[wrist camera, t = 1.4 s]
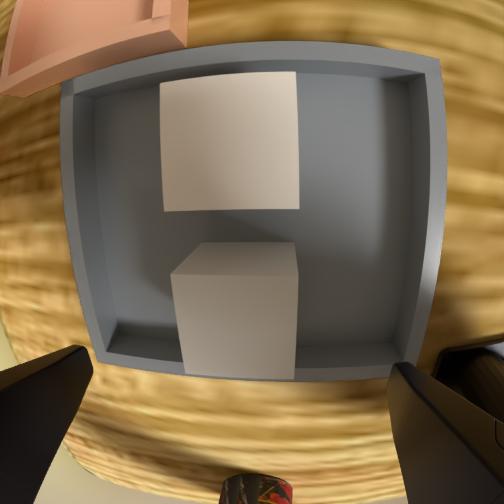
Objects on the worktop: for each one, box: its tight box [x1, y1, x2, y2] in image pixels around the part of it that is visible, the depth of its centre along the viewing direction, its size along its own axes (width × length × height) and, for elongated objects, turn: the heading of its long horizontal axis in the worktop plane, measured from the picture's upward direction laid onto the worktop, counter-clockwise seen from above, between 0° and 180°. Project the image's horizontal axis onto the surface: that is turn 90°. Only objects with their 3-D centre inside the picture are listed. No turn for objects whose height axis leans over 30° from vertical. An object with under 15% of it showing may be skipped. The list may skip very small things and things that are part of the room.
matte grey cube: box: [170, 242, 298, 379], centre depth 12 cm, size 4×4×4 cm
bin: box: [60, 41, 447, 382], centre depth 12 cm, size 16×14×2 cm
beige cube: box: [160, 72, 299, 212], centre depth 10 cm, size 4×4×4 cm
